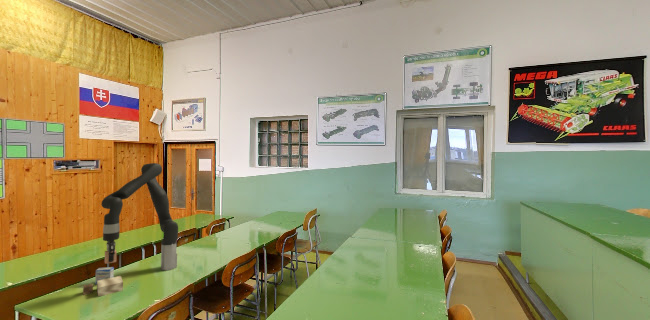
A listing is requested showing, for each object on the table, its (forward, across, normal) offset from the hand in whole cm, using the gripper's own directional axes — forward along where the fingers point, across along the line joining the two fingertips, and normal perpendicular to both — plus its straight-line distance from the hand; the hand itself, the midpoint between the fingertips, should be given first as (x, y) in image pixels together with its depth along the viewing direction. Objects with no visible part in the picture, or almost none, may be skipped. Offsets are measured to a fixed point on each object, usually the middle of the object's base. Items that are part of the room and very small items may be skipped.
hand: (110, 260), depth 157 cm
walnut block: (+17, +4, +9) cm, 20 cm away
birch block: (+17, 0, 0) cm, 17 cm away
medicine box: (+18, +14, +1) cm, 23 cm away
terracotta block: (+1, 0, 0) cm, 1 cm away
